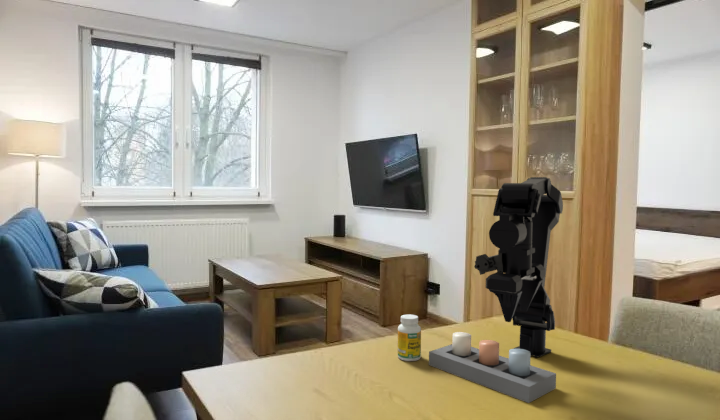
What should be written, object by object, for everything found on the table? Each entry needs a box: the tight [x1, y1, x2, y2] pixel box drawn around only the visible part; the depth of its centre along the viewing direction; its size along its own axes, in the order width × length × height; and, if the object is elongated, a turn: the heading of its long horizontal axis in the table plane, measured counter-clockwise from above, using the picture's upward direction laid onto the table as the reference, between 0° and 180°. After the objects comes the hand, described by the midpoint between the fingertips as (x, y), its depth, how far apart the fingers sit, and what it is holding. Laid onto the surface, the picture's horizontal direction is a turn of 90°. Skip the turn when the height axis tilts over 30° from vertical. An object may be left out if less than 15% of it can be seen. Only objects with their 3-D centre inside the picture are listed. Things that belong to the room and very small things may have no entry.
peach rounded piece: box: [478, 339, 500, 365], centre depth 99 cm, size 4×4×4 cm
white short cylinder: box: [451, 331, 472, 356], centre depth 104 cm, size 4×4×4 cm
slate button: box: [508, 348, 531, 376], centre depth 93 cm, size 4×4×4 cm
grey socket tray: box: [428, 343, 557, 404], centre depth 99 cm, size 10×24×3 cm, turn 40°
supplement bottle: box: [397, 313, 422, 362], centre depth 109 cm, size 5×5×10 cm
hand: (516, 316), depth 100 cm, fingers open, 9 cm apart
